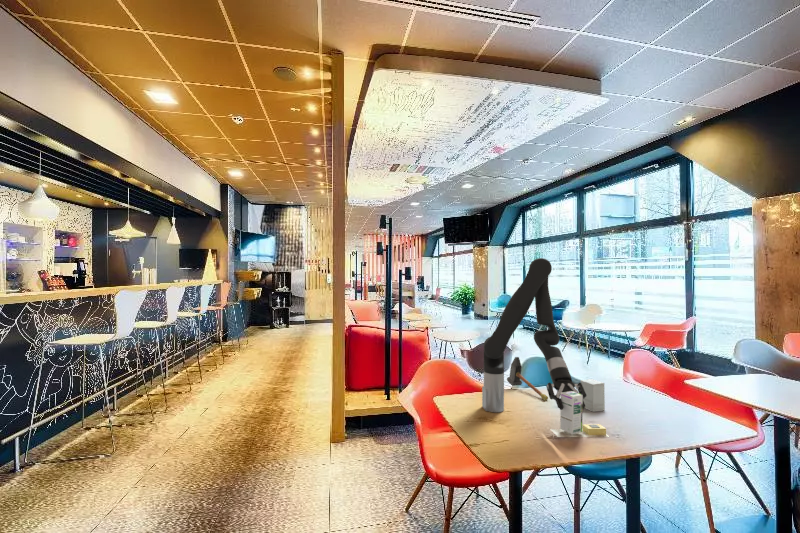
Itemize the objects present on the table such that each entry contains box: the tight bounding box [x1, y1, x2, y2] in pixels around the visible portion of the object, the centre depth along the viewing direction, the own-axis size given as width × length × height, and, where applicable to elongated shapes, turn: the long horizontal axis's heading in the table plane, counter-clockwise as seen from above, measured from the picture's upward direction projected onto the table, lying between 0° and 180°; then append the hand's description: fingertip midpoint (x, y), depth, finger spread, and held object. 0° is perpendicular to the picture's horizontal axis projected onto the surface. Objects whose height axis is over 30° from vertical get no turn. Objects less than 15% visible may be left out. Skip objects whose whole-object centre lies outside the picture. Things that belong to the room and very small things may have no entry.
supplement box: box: [580, 378, 606, 413], centre depth 172 cm, size 7×7×13 cm
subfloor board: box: [549, 428, 610, 438], centre depth 142 cm, size 20×14×1 cm
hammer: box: [506, 356, 549, 401], centre depth 196 cm, size 6×16×30 cm
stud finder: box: [582, 423, 607, 435], centre depth 142 cm, size 7×4×3 cm, turn 92°
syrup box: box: [559, 391, 584, 435], centre depth 142 cm, size 6×6×14 cm
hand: (572, 408), depth 141 cm, fingers open, 8 cm apart
